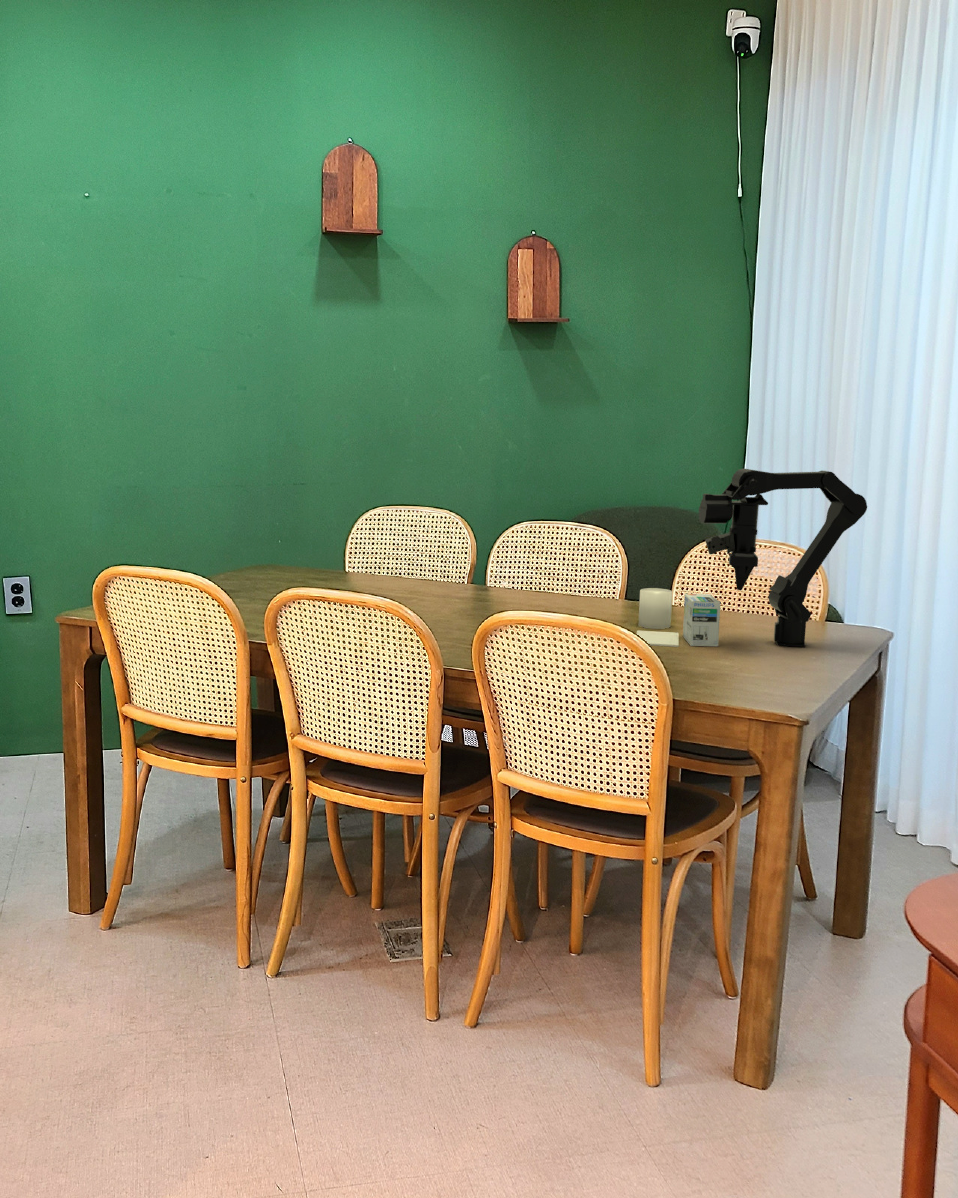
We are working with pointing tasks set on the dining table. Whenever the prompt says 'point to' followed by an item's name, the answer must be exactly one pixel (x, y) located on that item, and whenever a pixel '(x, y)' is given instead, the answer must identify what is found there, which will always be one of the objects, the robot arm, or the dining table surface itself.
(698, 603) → the light bulb box
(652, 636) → the mat
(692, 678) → the dining table surface
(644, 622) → the cream rounded cylinder
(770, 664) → the dining table surface
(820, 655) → the dining table surface
